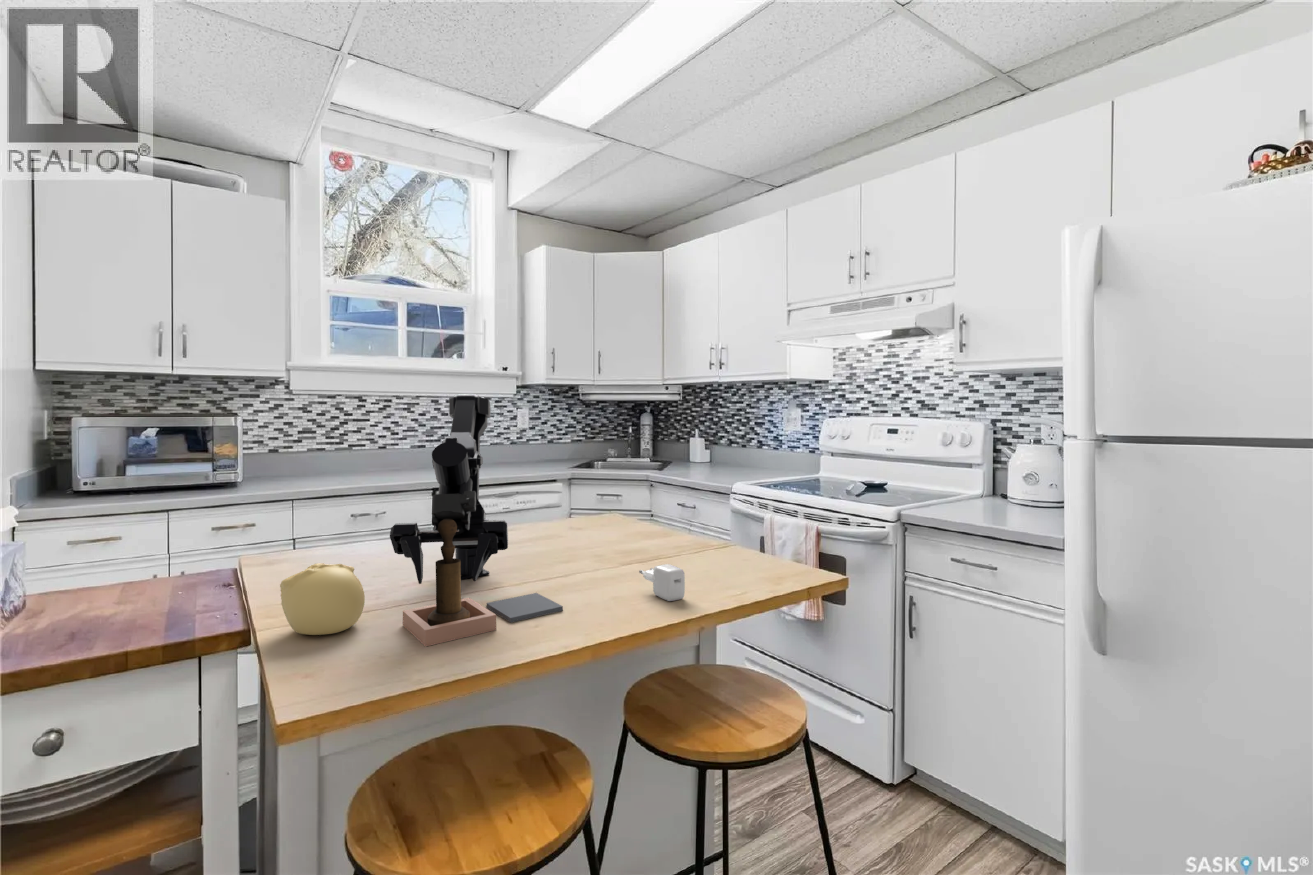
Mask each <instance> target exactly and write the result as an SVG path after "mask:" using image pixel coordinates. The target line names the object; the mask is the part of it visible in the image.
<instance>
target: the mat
mask: <svg viewBox="0 0 1313 875" xmlns="http://www.w3.org/2000/svg"><path fill="white" fill-rule="evenodd" d="M563 607H564V606H563V605H561V604H560V603H557V602H555V601H553V600H551V599H550V598H548V597H546V596H543V595H542V594H540V593H537V592H533V593H528V594H524V595H519V596H514V597H509V598H504V599H500V600H495V601H490V602H486V607H485V608H486V609H488V610H489V611H491V612H493V613H494V614H496V615H498V616H499V617H501V618H502V619H504V620H506V621H507V622H509V623H514V622H519V621H524V620H528V619H532V618H536V617H542V616H545V615H549V614H553V613H558V612H563V609H564V608H563Z"/></svg>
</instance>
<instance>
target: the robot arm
mask: <svg viewBox="0 0 1313 875" xmlns="http://www.w3.org/2000/svg"><path fill="white" fill-rule="evenodd" d="M448 402H449V404H448V405H449V406H448V407H449V408H448V409H449V410H448V412H449V413H448V416H449V418H452V420H451V421H452V422H451V428H450V434H449V436H447V437H445V439H443V440H442V441H441V443H440V444H438V445H437V446H435V447H434V449H433V450H432V452H431V463H432V466H433V467H432V468H433V469H434V474H435V479H436V481H437V483H438V484H439V485H438V493H437V494H433V495H432V499H431V500H432V505H431V515H432V516H431V517H432V518H431V525H432V526H434V527H433V529H428V530H427V529H426V530H420V529H419V526H418V522H404V523H403V522H401V523H400V522H399V523H395V524H393V525H392V527H391V528H390V532H389V539H390V542H391V546H392V548H393V552H394V553H395V554H397V555H403V556H404V558H407V559H411V561H412V563H413V566H414V570H415V573H416V577H417V582H418V584H419V585H421V584H422V582H423V578H424V553H423V549H422V543H424V544H425V543H443V539H442V537H441V536H440V534H439V532H438V524H439V522H440V521H442V520H443V519H452V520H454V521H455V522H456V524H457V531H456V533H455V535H454V537H453V539H452V543H453V545H454V546H455V552H454V556H455V558H456V559H460V561H461V580H465V579H469V578H470V579H471V578H472V581H473V582H476V581H477V579H478V578H479V577H482V576H486V575H487V576H488V575H490V571H489V570H487V569H484V566H485V564H486V563H487V562H488V561H489V559H490V558H491V556H492V555H497V554H498V553H499V551H506V550H507V549H509V548H508V547H509V531H508V523H507V521H506V520H504V519H498V520H497V519H494V520H493V519H491V520H489V518H487V514H486V511H485V509H484V507H483V505H482V503H481V502H480V500H479V494H480V470H481V467H482V466H483V463H484V461H483V460H484V458H483V456H482V455H481V453H480V451H481V450H480V447H481V436H483V434H484V433H485V431H486V429H487V428H488V418H489V419H490V418H491V402H490V400H489V399H488V398H485V397H484V396H482V397H481V396H479V395H477V394H475V393H460V394H459V393H457V394H456V395H453V397H451V398H449V400H448Z"/></svg>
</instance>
